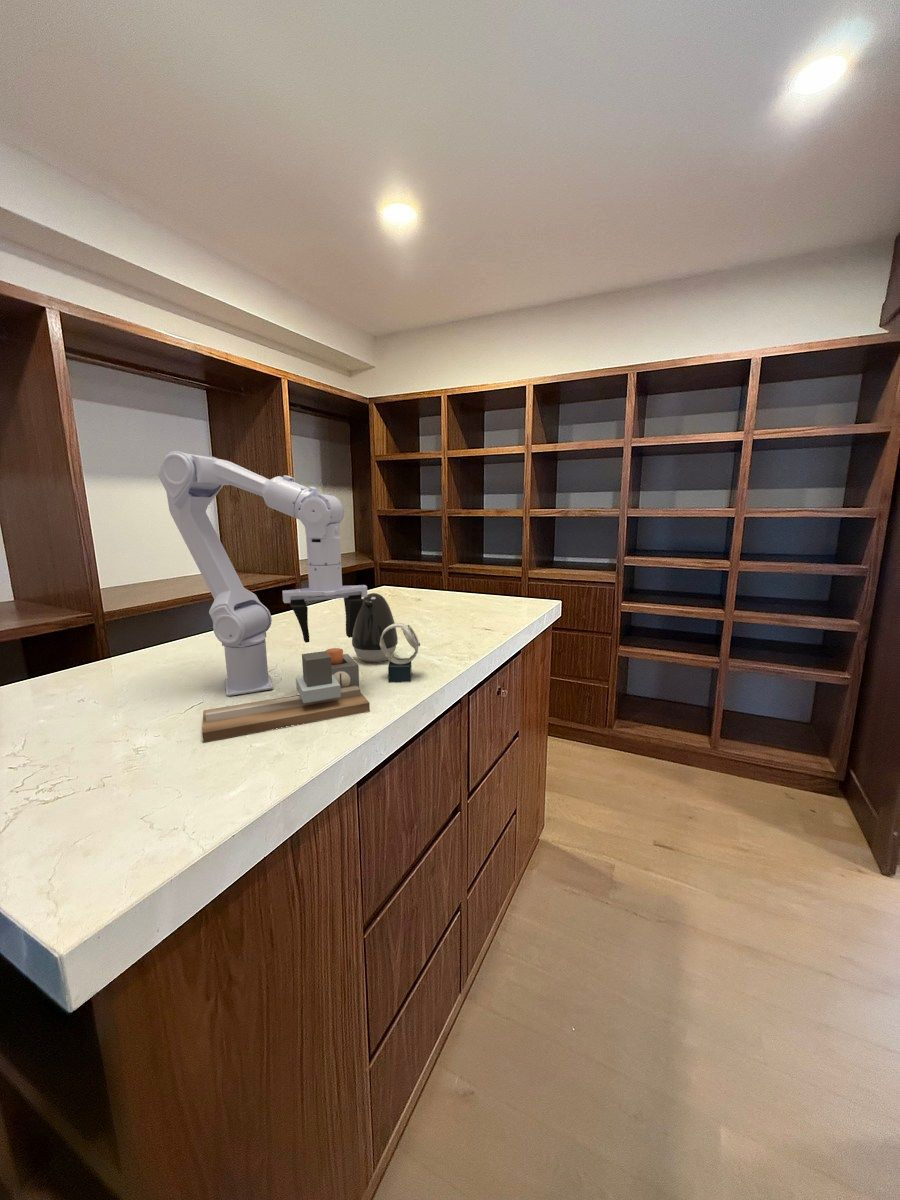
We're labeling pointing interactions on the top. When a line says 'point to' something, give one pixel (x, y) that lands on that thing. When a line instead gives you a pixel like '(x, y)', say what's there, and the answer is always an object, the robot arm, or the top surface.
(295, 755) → the top surface
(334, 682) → the carriage
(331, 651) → the button
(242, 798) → the top surface
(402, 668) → the watch
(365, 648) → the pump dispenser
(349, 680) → the gauge cabinet
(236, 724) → the rail track
